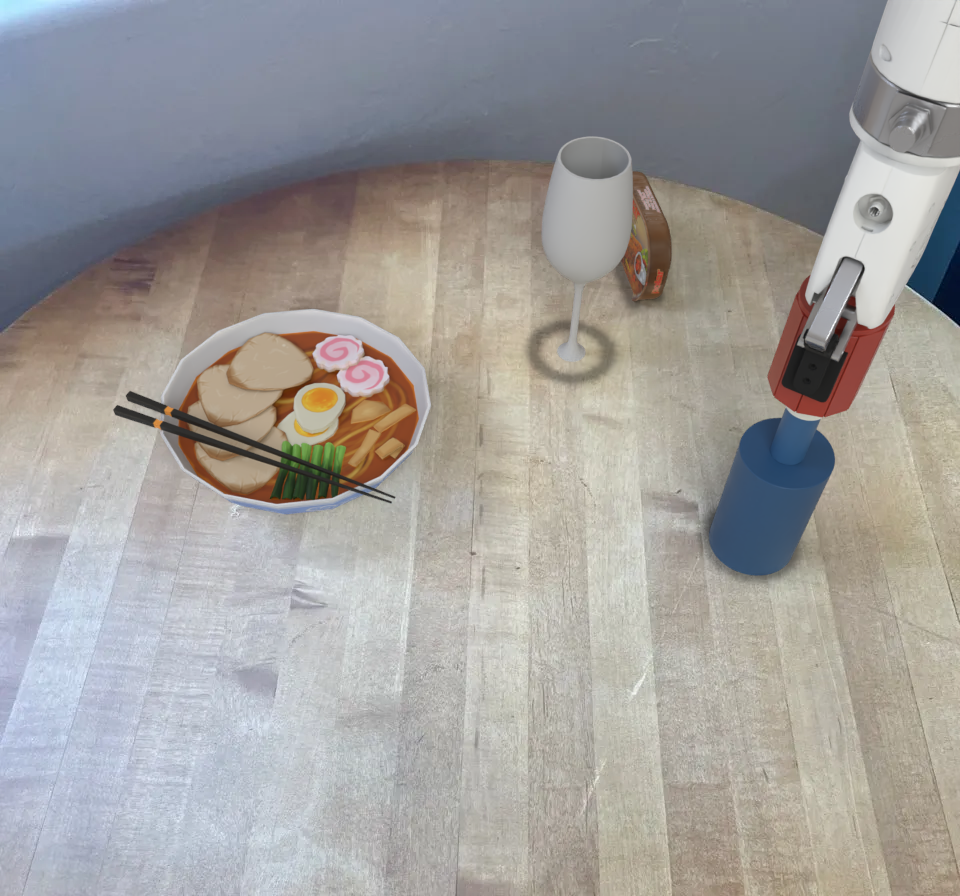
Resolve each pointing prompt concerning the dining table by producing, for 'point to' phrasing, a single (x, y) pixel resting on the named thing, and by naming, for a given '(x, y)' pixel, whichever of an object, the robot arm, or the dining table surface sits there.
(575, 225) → the wineglass
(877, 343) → the red grooved cylinder
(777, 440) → the water bottle
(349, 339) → the ramen bowl
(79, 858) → the dining table surface
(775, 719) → the dining table surface
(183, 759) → the dining table surface
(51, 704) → the dining table surface
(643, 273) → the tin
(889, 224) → the robot arm
